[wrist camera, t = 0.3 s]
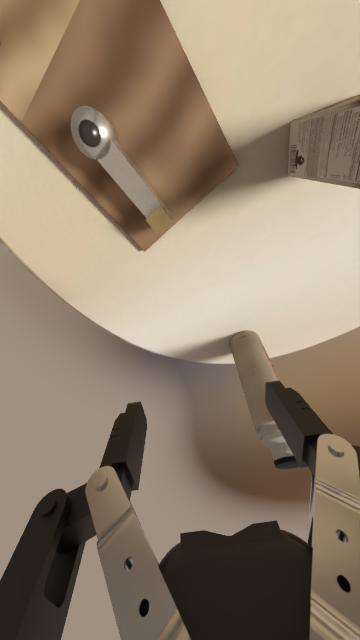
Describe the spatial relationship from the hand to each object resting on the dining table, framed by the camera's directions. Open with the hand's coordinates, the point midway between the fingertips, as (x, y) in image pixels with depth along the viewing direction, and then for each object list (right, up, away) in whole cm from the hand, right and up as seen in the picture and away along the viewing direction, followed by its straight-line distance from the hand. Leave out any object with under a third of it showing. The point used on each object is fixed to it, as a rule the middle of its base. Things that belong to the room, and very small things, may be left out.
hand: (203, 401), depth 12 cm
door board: (-9, +31, +12) cm, 35 cm away
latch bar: (-8, +26, +15) cm, 31 cm away
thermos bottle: (+16, 0, +40) cm, 43 cm away
